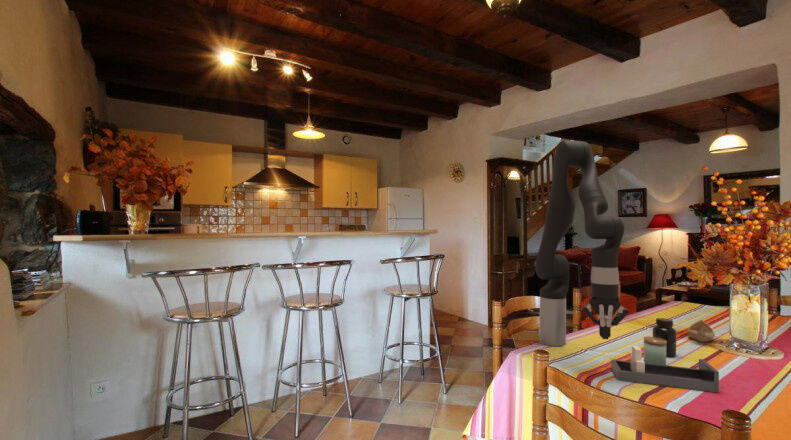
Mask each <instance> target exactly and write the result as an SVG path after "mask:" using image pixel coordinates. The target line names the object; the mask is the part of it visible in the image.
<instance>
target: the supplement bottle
mask: <svg viewBox="0 0 791 440" xmlns="http://www.w3.org/2000/svg"><path fill="white" fill-rule="evenodd" d="M652 337H657V338H662V339H664V340H666V341H667V345H666V358H674V357H676V356H677V330H676V329H675V328H674V321H673V320H672V319H669V318H664V317H657V318H655V325H654V326H653V327H652Z"/></svg>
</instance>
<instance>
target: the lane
mask: <svg viewBox="0 0 791 440" xmlns="http://www.w3.org/2000/svg"><path fill="white" fill-rule="evenodd" d="M610 367H611V370H612V372H613V371H614V372H613V374H614V373H615V374H614V375H615V377H616V379H617V380H618V381H622V382H629V383H639V384H644V385H645V384H646V385H655V386H661V387H662V386H663V387H670V388H678V389H686V390H693V391H695V390H696V391H702V392H709V393H710V392H711V393H719V391H720V390H719V389H720V388H719V387H720V384H719V382H720V372H719V371H718V370H717V369H716V368H714V367H713V366H712V365H711V364H710V363H708V361H706V360H705V359H703V358H699V359H698V368H693V367H685V366H674V365H667V364H666V365H658V364H649V363H645V373H639V372H632V371H631V369H630V360H621V359H610Z"/></svg>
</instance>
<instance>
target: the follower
mask: <svg viewBox="0 0 791 440" xmlns="http://www.w3.org/2000/svg"><path fill="white" fill-rule="evenodd" d="M642 351H643V350H642V348H641V347H640V346H639V345H631V353H630V360H629V361H630V369H631V371H632V372H639V373H645V362H644V359H643V358H642V357H643V356H642V353H643V352H642Z"/></svg>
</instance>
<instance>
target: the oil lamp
mask: <svg viewBox="0 0 791 440" xmlns="http://www.w3.org/2000/svg"><path fill="white" fill-rule="evenodd" d="M686 332H687V334H688V336H689V337H690V338H691V339H692V340H694V341H697V342H702V343H704V342H705V343H708V342H710V341H712V340H713V339H714V338H715V335H716V332H714V330H713V328H712V327H711V326H710V325H709V324H708V323H707V322H705V321H704V320H703V319H700V320H698V321H696V322H694V323H693V324H691V325H690V326H689V327H686Z"/></svg>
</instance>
